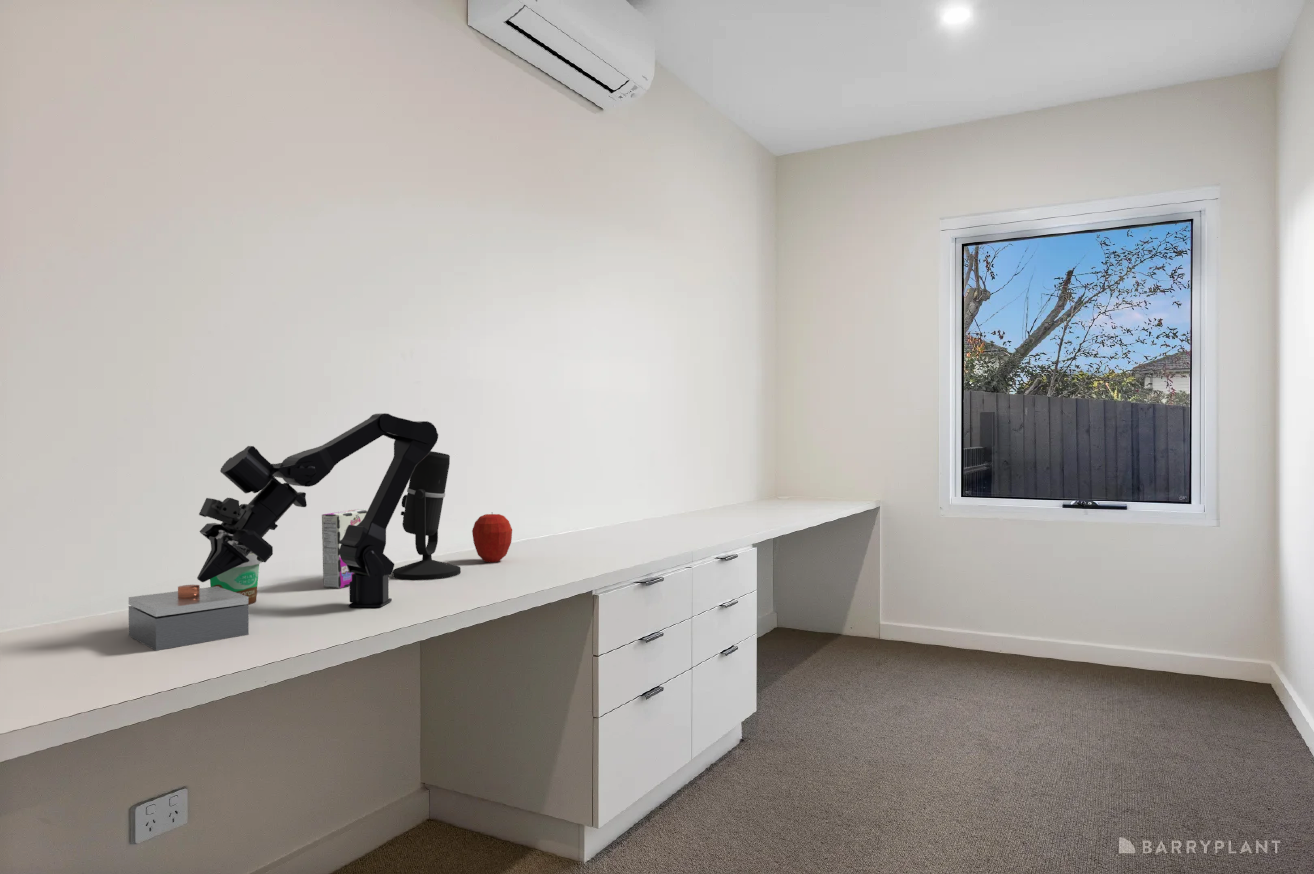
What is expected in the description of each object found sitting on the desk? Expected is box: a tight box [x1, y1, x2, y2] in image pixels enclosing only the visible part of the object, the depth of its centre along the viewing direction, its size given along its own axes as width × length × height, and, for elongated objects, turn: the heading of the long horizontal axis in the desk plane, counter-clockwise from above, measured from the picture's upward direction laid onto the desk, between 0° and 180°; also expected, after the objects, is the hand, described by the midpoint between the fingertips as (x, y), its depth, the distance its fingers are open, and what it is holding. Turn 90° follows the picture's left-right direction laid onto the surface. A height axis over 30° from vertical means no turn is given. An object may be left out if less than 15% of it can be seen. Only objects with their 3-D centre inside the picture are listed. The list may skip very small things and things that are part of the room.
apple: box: [471, 513, 513, 564], centre depth 218 cm, size 10×10×14 cm
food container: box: [209, 552, 263, 606], centre depth 165 cm, size 12×6×10 cm, turn 168°
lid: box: [128, 584, 248, 617], centre depth 139 cm, size 14×14×3 cm
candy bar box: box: [321, 508, 368, 589], centre depth 186 cm, size 11×5×16 cm, turn 161°
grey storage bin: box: [128, 604, 250, 652], centre depth 139 cm, size 14×14×5 cm
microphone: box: [392, 450, 462, 581], centre depth 199 cm, size 16×16×30 cm
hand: (199, 580), depth 141 cm, fingers closed
